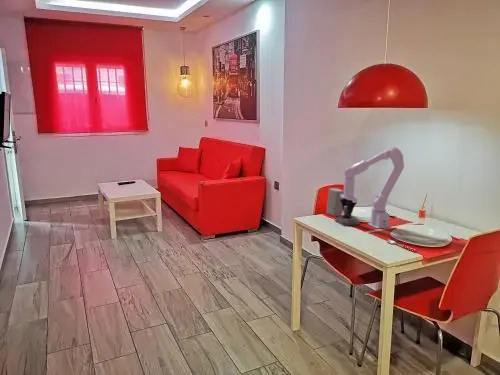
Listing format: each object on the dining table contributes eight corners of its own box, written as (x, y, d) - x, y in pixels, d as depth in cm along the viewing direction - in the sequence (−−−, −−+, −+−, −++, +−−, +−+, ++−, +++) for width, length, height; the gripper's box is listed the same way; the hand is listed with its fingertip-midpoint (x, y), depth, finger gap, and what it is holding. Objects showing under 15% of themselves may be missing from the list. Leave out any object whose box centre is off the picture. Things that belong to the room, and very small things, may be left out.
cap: (352, 215, 218) (353, 206, 217) (345, 216, 216) (346, 207, 215) (348, 213, 222) (349, 205, 221) (341, 214, 221) (342, 205, 220)
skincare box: (326, 213, 241) (327, 188, 238) (335, 212, 244) (336, 187, 241) (334, 216, 233) (335, 191, 231) (343, 215, 236) (345, 190, 233)
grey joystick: (359, 224, 217) (359, 218, 216) (343, 226, 214) (344, 219, 213) (349, 220, 226) (350, 214, 226) (334, 221, 223) (334, 215, 223)
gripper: (336, 186, 222) (334, 209, 225) (349, 191, 208) (348, 216, 211) (346, 186, 224) (345, 209, 227) (361, 191, 210) (359, 215, 213)
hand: (347, 212), depth 219 cm, fingers closed on cap, 4 cm apart
